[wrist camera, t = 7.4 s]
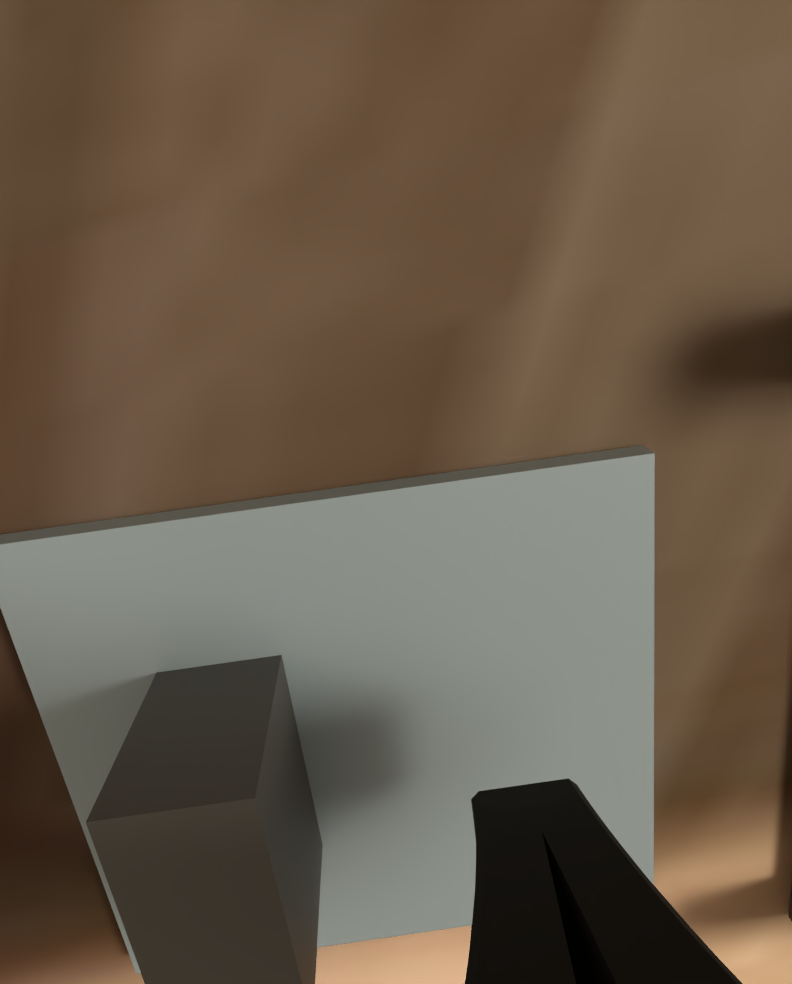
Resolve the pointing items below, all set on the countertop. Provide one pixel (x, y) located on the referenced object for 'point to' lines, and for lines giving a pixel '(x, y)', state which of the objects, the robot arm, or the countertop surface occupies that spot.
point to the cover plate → (337, 697)
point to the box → (791, 913)
